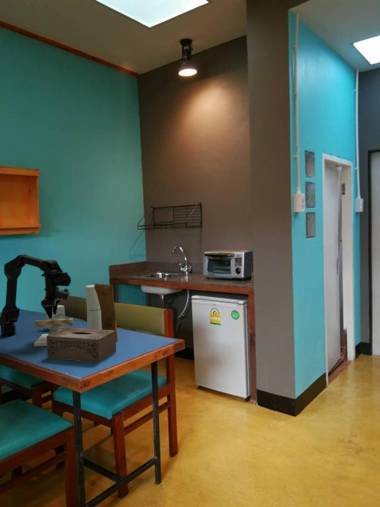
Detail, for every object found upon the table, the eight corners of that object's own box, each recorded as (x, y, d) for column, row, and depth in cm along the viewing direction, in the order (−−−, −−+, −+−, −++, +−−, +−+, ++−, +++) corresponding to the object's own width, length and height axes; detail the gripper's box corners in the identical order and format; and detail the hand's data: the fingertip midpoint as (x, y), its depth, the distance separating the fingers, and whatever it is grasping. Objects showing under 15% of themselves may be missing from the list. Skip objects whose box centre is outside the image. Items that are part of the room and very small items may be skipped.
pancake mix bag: (109, 344, 191) (106, 286, 189) (95, 335, 207) (92, 282, 205) (122, 341, 195) (119, 285, 193) (107, 333, 211) (105, 280, 209)
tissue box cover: (47, 358, 174) (46, 335, 173) (67, 348, 188) (66, 327, 187) (99, 363, 166) (98, 339, 165) (116, 352, 180) (115, 330, 179)
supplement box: (54, 330, 219) (53, 308, 218) (46, 328, 224) (45, 306, 223) (65, 327, 225) (64, 305, 224) (58, 325, 230) (56, 304, 229)
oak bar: (73, 324, 202) (73, 318, 202) (72, 325, 199) (71, 319, 199) (36, 326, 200) (36, 320, 200) (35, 327, 197) (34, 321, 197)
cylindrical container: (98, 334, 210) (95, 287, 208) (85, 333, 211) (83, 287, 209) (103, 330, 217) (101, 285, 215) (91, 330, 218) (89, 284, 216)
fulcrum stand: (34, 346, 191) (33, 330, 191) (43, 336, 207) (42, 322, 207) (68, 344, 193) (67, 329, 193) (74, 335, 209) (73, 321, 208)
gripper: (63, 287, 190) (65, 320, 191) (71, 282, 208) (72, 311, 210) (39, 288, 189) (41, 321, 190) (49, 282, 207) (51, 312, 209)
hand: (52, 316), depth 200 cm, fingers open, 9 cm apart
